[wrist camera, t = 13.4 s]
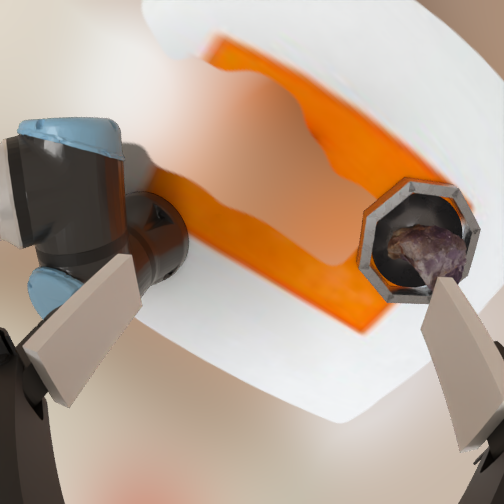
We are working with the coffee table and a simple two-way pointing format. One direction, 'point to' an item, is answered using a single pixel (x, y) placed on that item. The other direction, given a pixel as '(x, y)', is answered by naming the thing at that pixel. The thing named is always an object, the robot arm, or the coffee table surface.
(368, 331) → the coffee table surface
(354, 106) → the coffee table surface
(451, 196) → the collar
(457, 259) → the rock
